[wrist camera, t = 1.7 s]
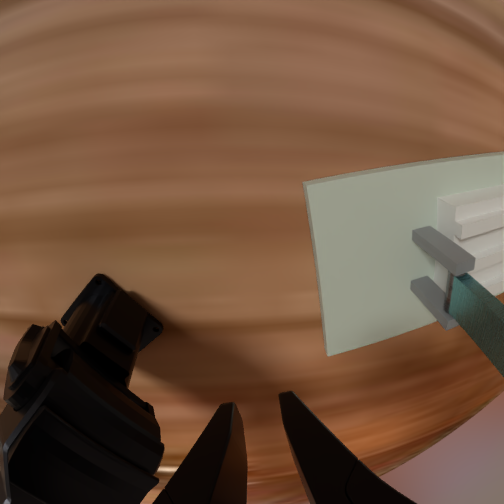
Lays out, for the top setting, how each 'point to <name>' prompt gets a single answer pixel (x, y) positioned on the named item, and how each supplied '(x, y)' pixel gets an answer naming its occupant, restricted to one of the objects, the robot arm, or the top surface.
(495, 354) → the lever
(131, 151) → the top surface
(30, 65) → the top surface
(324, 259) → the heatsink board
